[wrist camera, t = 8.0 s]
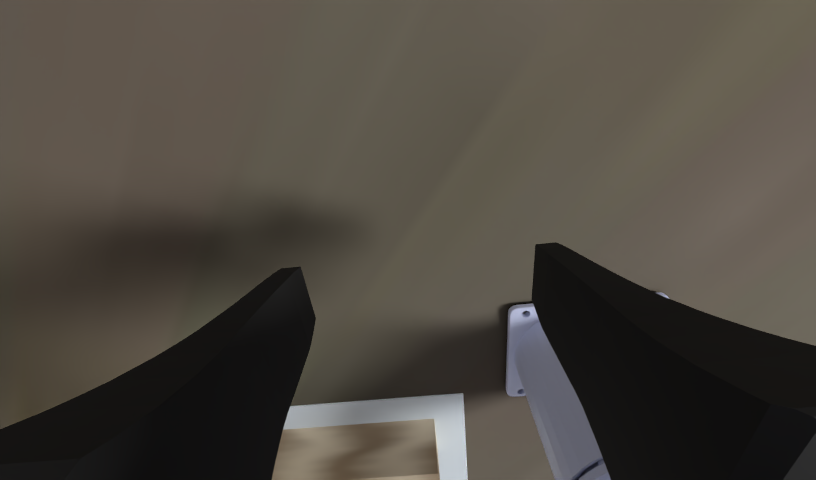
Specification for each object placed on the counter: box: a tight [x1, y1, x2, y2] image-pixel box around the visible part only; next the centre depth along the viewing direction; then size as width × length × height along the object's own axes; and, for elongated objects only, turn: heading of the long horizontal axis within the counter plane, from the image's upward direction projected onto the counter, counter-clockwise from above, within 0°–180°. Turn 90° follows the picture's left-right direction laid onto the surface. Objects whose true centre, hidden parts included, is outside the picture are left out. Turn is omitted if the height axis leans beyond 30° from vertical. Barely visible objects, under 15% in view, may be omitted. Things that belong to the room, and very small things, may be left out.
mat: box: [283, 393, 468, 480], centre depth 30 cm, size 16×16×1 cm
